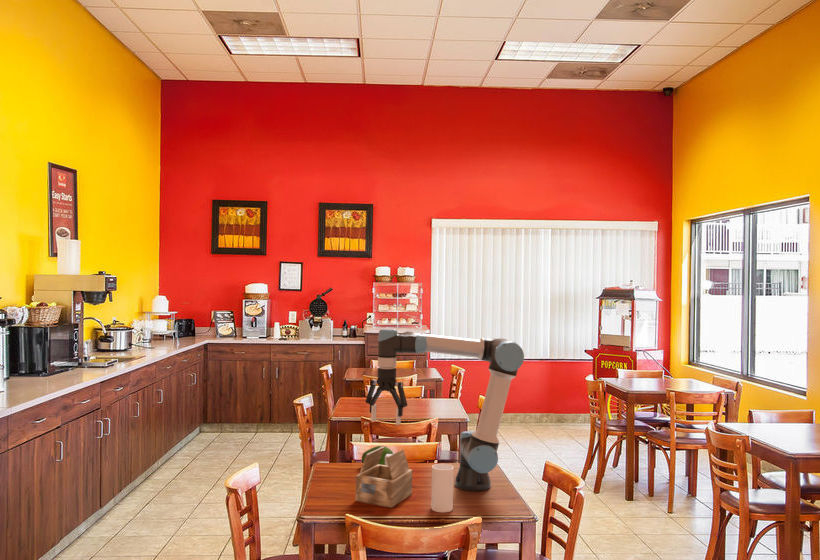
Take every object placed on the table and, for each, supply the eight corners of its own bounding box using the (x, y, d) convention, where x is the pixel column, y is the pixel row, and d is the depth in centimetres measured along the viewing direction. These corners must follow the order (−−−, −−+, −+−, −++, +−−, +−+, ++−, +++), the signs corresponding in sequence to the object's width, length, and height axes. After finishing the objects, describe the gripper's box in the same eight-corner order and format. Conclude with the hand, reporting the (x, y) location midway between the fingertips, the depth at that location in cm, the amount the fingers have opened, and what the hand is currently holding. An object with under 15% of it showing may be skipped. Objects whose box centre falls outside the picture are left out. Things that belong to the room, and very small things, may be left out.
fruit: (360, 470, 285) (361, 448, 285) (362, 464, 295) (362, 443, 295) (393, 470, 285) (394, 449, 285) (393, 464, 295) (394, 443, 295)
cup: (430, 504, 242) (430, 463, 242) (450, 504, 243) (451, 463, 243) (432, 512, 234) (433, 469, 234) (454, 512, 235) (455, 469, 235)
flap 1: (378, 464, 259) (384, 447, 257) (361, 473, 246) (367, 455, 245) (376, 463, 259) (383, 446, 258) (359, 472, 246) (366, 454, 245)
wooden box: (412, 493, 254) (413, 469, 255) (390, 508, 237) (391, 482, 237) (378, 487, 261) (378, 463, 261) (354, 501, 244) (355, 476, 244)
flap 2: (409, 468, 252) (403, 449, 254) (393, 478, 240) (387, 457, 241) (407, 469, 253) (402, 449, 254) (391, 478, 240) (386, 457, 241)
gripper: (416, 368, 248) (415, 424, 248) (366, 364, 258) (365, 417, 258) (408, 370, 241) (407, 428, 241) (357, 366, 251) (356, 421, 251)
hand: (385, 422), depth 250 cm, fingers open, 10 cm apart
